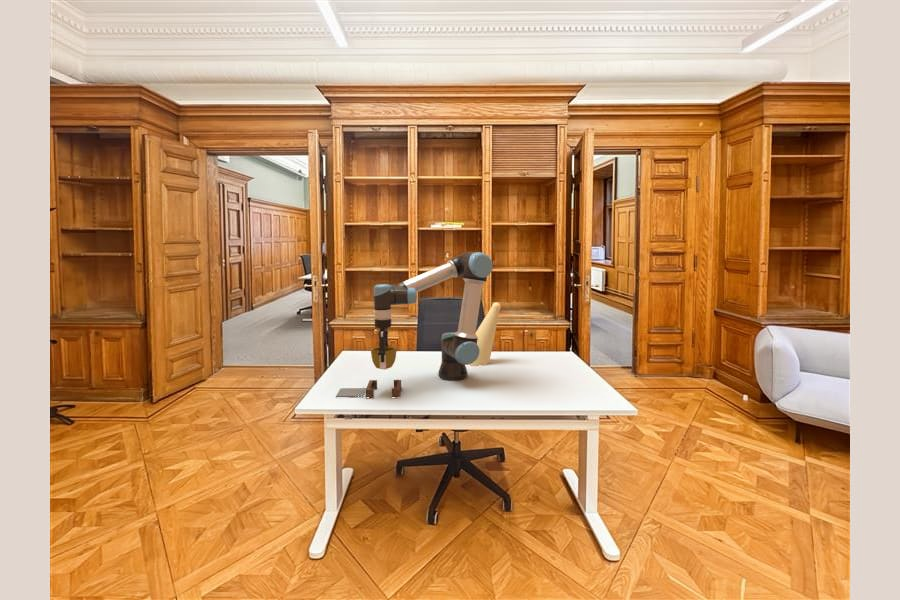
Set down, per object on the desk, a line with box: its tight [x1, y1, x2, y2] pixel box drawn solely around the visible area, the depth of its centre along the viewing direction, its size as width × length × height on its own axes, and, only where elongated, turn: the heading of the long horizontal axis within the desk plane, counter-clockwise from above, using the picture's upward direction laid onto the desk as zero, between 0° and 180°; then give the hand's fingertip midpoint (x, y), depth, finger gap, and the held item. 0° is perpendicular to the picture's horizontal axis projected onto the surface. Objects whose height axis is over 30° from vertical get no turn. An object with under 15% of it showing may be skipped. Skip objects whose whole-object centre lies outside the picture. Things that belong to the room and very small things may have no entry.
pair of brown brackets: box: [365, 379, 402, 399], centre depth 230 cm, size 15×15×4 cm
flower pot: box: [370, 346, 398, 371], centre depth 229 cm, size 9×9×9 cm
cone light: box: [468, 302, 502, 367], centre depth 285 cm, size 25×18×35 cm
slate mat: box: [335, 387, 367, 398], centre depth 230 cm, size 12×12×1 cm
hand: (384, 365), depth 229 cm, fingers closed on flower pot, 11 cm apart
